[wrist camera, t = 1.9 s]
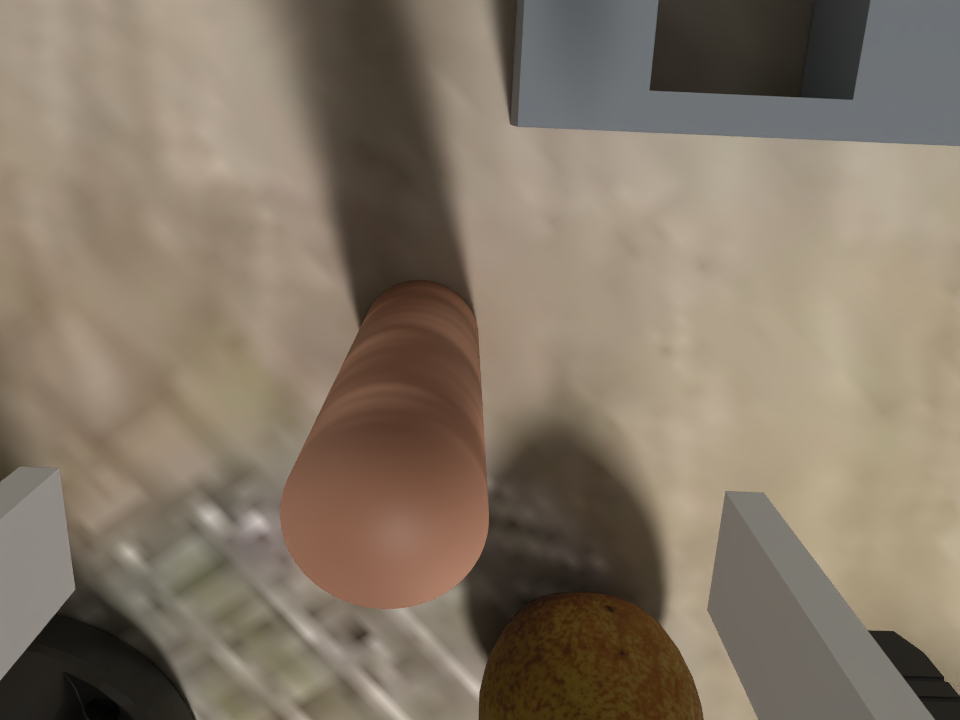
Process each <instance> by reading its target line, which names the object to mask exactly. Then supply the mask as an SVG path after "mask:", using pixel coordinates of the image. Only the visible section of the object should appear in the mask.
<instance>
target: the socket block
mask: <svg viewBox="0 0 960 720" xmlns="http://www.w3.org/2000/svg"><path fill="white" fill-rule="evenodd" d="M658 2H659V0H517V5H516V24H515V44H514V63H513V82H512V102H511V121H510V124H511V125H514V126H517V127H537V128H560V129H583V130H606V131H629V132H651V133H674V134H697V135H720V136H743V137H765V138H788V139H811V140H834V141H856V142H879V143H902V144H925V145H948V146H960V0H815V5H814V11H813V17H812V24H811V30H810V36H809V43H808V49H807V56H806V62H805V68H804V75H803V81H802V87H801V94H800V97H778V96H756V95H735V94H713V93H691V92H669V91H650V81H651V71H652V61H653V51H654V42H655V32H656V22H657V12H658Z"/></svg>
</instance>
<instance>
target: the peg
mask: <svg viewBox="0 0 960 720" xmlns="http://www.w3.org/2000/svg"><path fill="white" fill-rule="evenodd" d="M280 520H281V529H282V533H283V536H284V540H285V543H286V545H287V547H288V550H289V552H290V554H291V556H292V557H293V559H294V561H295V562H296V564H297V565H298V566H299V567H300V569H301V570H302V571H303V573H304V574H305V575H306V576H307V577H308V578H310V579H311V580H312V581H313V582H314V583H315V584H316V585H318V586H319V587H320V588H322V589H323V590H325V591H326V592H328V593H330V594H331V595H333V596H335V597H337V598H340V599H342V600H344V601H347V602H350V603H353V604H356V605H360V606H365V607H370V608H380V609H395V608H404V607H411V606H414V605H418V604H422V603H425V602H427V601H430V600H432V599H435V598H437V597H439V596H441V595H442V594H444V593H446V592H447V591H449V590H450V589H452V588H453V587H454V586H456V585H457V584H458V583H459V582H460V581H461V580H462V579H464V578H465V577H466V575H467V574H468V573H469V572H470V571H471V569H472V568H473V567H474V565H475V564H476V562H477V560H478V559H479V557H480V555H481V553H482V550H483V548H484V545H485V542H486V538H487V535H488V527H489V506H488V490H487V473H486V456H485V439H484V423H483V406H482V389H481V373H480V356H479V339H478V328H477V323H476V320H475V317H474V315H473V313H472V311H471V309H470V307H469V306H468V304H467V303H466V302H465V301H464V300H463V298H461V297H460V296H459V295H458V294H457V293H456V292H454V291H453V290H451V289H450V288H448V287H446V286H444V285H441V284H439V283H435V282H431V281H423V280H417V281H408V282H404V283H400V284H398V285H395V286H393V287H391V288H390V289H388V290H386V291H385V292H384V293H383V294H381V295H380V296H379V297H378V298H377V299H376V300H375V301H374V303H373V304H372V306H371V307H370V309H369V311H368V313H367V315H366V317H365V319H364V321H363V323H362V325H361V327H360V329H359V332H358V334H357V336H356V338H355V340H354V342H353V344H352V346H351V348H350V350H349V352H348V354H347V357H346V359H345V361H344V363H343V365H342V367H341V369H340V371H339V373H338V375H337V377H336V379H335V381H334V384H333V386H332V388H331V390H330V392H329V394H328V396H327V398H326V400H325V402H324V404H323V406H322V409H321V411H320V413H319V415H318V417H317V419H316V421H315V423H314V425H313V427H312V429H311V431H310V434H309V436H308V438H307V440H306V442H305V444H304V446H303V448H302V450H301V452H300V454H299V456H298V458H297V461H296V463H295V465H294V467H293V469H292V471H291V473H290V475H289V477H288V479H287V482H286V485H285V487H284V490H283V494H282V499H281V507H280Z"/></svg>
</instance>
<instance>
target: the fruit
mask: <svg viewBox="0 0 960 720" xmlns="http://www.w3.org/2000/svg"><path fill="white" fill-rule="evenodd" d="M479 720H704V718H703V712H702V706H701V703H700V699H699V696H698V692H697V689H696V686H695V683H694V680H693V677H692V675H691V673H690V671H689V669H688V667H687V665H686V663H685V661H684V659H683V657H682V655H681V653H680V651H679V649H678V648H677V646H676V645H675V644H674V642H673V641H672V640H671V638H670V637H669V636H668V634H667V633H666V631H665V630H664V629H663V627H662V626H661V625H660V624H659V623H658V622H657V621H656V620H655V619H654V618H652V617H651V616H650V615H649V614H647V613H646V612H645V611H644V610H642V609H641V608H640V607H639V606H637V605H636V604H633V603H631V602H628V601H626V600H623V599H621V598H618V597H615V596H613V595H609V594H603V593H597V592H569V593H556V594H551V595H546V596H542V597H540V598H538V599H536V600H534V601H532V602H530V603H529V604H527V605H525V606H523V607H522V608H521V609H520V610H519V612H518V613H517V614H516V615H515V617H514V618H513V619H512V620H511V621H510V622H509V623H508V624H507V625H506V627H505V629H504V630H503V632H502V634H501V635H500V637H499V639H498V641H497V642H496V644H495V646H494V648H493V650H492V652H491V655H490V657H489V659H488V662H487V664H486V668H485V671H484V675H483V680H482V684H481V689H480V695H479Z"/></svg>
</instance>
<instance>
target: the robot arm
mask: <svg viewBox="0 0 960 720" xmlns="http://www.w3.org/2000/svg"><path fill="white" fill-rule="evenodd" d="M74 591H75V583H74V575H73V568H72V561H71V553H70V546H69V538H68V531H67V523H66V516H65V508H64V501H63V493H62V486H61V478H60V471H59V468H44V467H18V468H17V469H16V470H15V471H13V472H12V473H11V474H10V475H8V476H7V477H6V478H5V479H3V480H2V481H1V482H0V720H193V719H192V716H191V714H190V712H189V710H188V708H187V706H186V705H185V703H184V701H183V700H182V698H181V697H180V695H179V694H178V692H177V691H176V690H175V688H174V687H173V686H172V685H171V683H170V682H169V681H168V680H167V679H166V677H165V676H164V675H163V674H162V673H161V672H160V671H159V670H158V669H157V668H156V667H154V666H153V665H152V664H151V663H150V662H149V661H148V660H147V659H145V658H144V657H143V656H141V655H140V654H139V653H138V652H136V651H135V650H133V649H132V648H130V647H129V646H127V645H126V644H124V643H123V642H121V641H119V640H118V639H116V638H114V637H112V636H110V635H108V634H106V633H104V632H102V631H100V630H98V629H96V628H93V627H91V626H89V625H86V624H83V623H81V622H78V621H75V620H72V619H68V618H65V617H61V616H57V615H55V614H56V612H57V611H58V610H59V609H60V608H61V606H62V605H63V604H64V603H65V602H66V600H67V599H68V598H69V597H70V595H71V594H72V593H73V592H74ZM707 610H708V612H709V614H710V616H711V618H712V621H713V623H714V625H715V627H716V629H717V631H718V634H719V636H720V638H721V640H722V642H723V644H724V646H725V649H726V651H727V653H728V655H729V657H730V659H731V661H732V664H733V666H734V668H735V670H736V672H737V674H738V676H739V679H740V681H741V683H742V685H743V687H744V689H745V691H746V694H747V696H748V698H749V700H750V702H751V704H752V707H753V709H754V711H755V713H756V715H757V717H758V719H759V720H960V696H959V695H958V694H957V692H956V691H955V690H954V689H953V687H952V686H951V685H950V684H949V683H948V682H945V681H944V677H943V675H942V674H941V673H940V672H939V671H938V669H937V668H936V667H935V666H934V664H933V663H932V662H931V661H930V660H929V658H928V657H927V656H926V655H925V654H924V653H923V652H922V651H921V650H919V649H918V648H916V647H915V646H914V645H912V644H911V643H909V642H908V641H907V640H905V639H904V638H902V637H901V636H900V635H898V634H897V633H896V632H894V631H869V630H867V629H866V628H865V626H864V625H863V624H862V622H861V621H860V620H859V618H858V617H857V616H856V614H855V613H854V612H853V610H852V609H851V608H850V606H849V605H848V604H847V602H846V601H845V600H844V598H843V597H842V596H841V594H840V593H839V592H838V590H837V589H836V588H835V587H834V585H833V584H832V583H831V581H830V580H829V579H828V577H827V576H826V575H825V573H824V572H823V571H822V569H821V568H820V567H819V565H818V564H817V563H816V561H815V560H814V559H813V557H812V556H811V555H810V553H809V552H808V551H807V549H806V548H805V547H804V545H803V544H802V543H801V541H800V540H799V539H798V537H797V536H796V535H795V533H794V532H793V531H792V529H791V528H790V527H789V525H788V524H787V523H786V522H785V520H784V519H783V518H782V516H781V515H780V514H779V512H778V511H777V510H776V508H775V507H774V506H773V504H772V503H771V502H770V500H769V499H768V498H767V496H766V495H765V494H764V493H762V492H734V491H725V498H724V504H723V511H722V517H721V524H720V530H719V537H718V543H717V550H716V556H715V563H714V569H713V576H712V583H711V589H710V596H709V602H708V609H707Z"/></svg>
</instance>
